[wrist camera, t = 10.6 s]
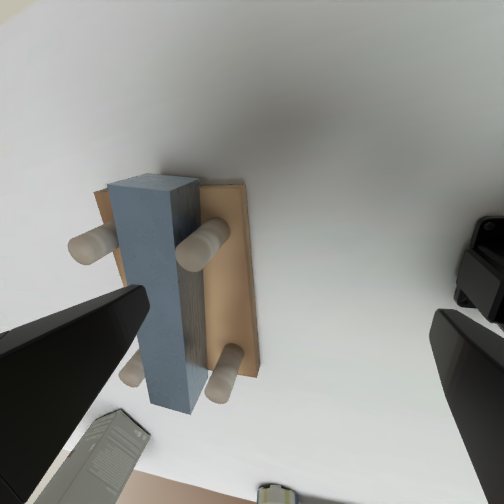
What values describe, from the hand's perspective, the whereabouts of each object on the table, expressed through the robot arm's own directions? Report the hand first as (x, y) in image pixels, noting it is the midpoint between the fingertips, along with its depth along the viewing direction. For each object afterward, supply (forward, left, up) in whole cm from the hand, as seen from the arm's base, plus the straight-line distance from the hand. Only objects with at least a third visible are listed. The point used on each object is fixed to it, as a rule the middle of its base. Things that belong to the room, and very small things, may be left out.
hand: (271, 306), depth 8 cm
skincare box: (+26, +34, -12) cm, 45 cm away
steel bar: (+10, +7, -10) cm, 16 cm away
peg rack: (+10, +8, -12) cm, 17 cm away
